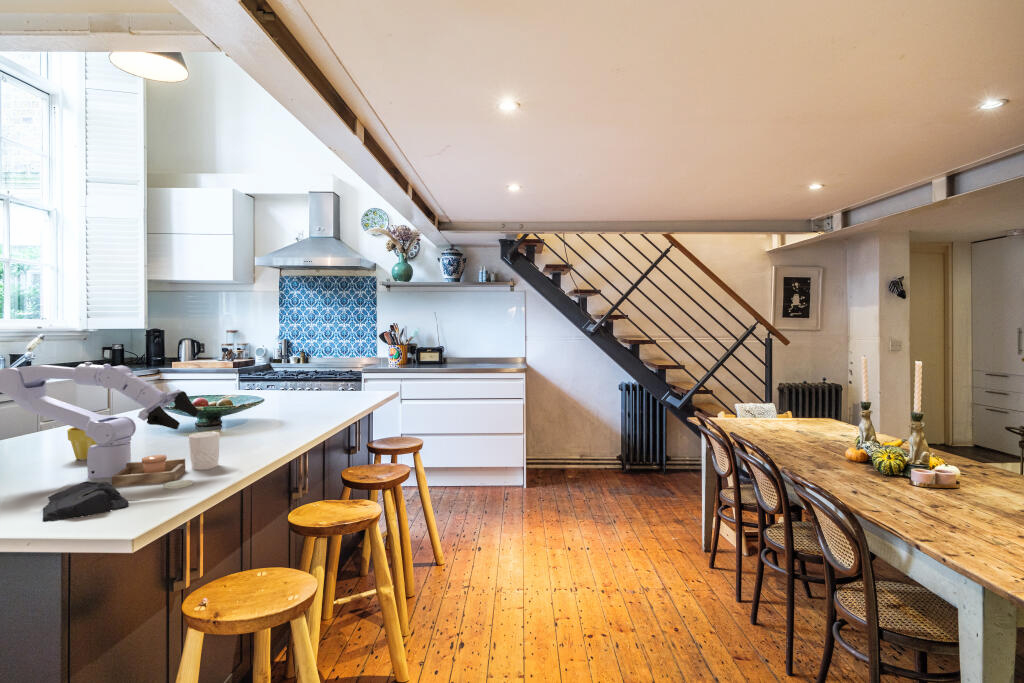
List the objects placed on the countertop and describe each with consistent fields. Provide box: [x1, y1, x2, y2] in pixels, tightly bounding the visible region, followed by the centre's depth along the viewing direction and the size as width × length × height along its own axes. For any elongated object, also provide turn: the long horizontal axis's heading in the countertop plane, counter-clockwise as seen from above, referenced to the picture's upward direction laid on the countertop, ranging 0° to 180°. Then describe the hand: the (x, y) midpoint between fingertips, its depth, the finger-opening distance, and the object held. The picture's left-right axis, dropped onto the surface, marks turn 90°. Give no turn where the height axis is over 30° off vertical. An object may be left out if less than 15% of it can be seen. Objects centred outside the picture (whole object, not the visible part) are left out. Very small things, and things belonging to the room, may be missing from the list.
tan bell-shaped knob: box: [141, 454, 168, 473], centre depth 148 cm, size 6×6×6 cm
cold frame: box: [111, 458, 186, 487], centre depth 148 cm, size 14×11×4 cm
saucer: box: [162, 479, 194, 490], centre depth 141 cm, size 8×8×1 cm
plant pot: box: [66, 427, 97, 459], centre depth 174 cm, size 10×10×10 cm
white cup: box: [188, 431, 221, 471], centre depth 160 cm, size 8×8×10 cm
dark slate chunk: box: [41, 480, 129, 522], centre depth 128 cm, size 15×22×5 cm
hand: (187, 420), depth 154 cm, fingers open, 7 cm apart
